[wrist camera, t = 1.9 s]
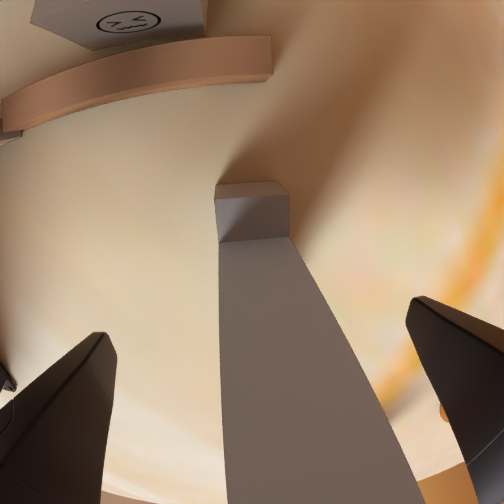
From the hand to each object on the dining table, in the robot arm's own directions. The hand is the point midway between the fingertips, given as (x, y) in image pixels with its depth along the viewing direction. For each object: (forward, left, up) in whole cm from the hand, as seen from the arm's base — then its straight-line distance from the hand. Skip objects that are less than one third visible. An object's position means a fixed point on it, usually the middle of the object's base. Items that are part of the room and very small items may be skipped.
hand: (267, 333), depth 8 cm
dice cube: (-3, +12, -6) cm, 14 cm away
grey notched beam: (0, 0, -6) cm, 6 cm away
